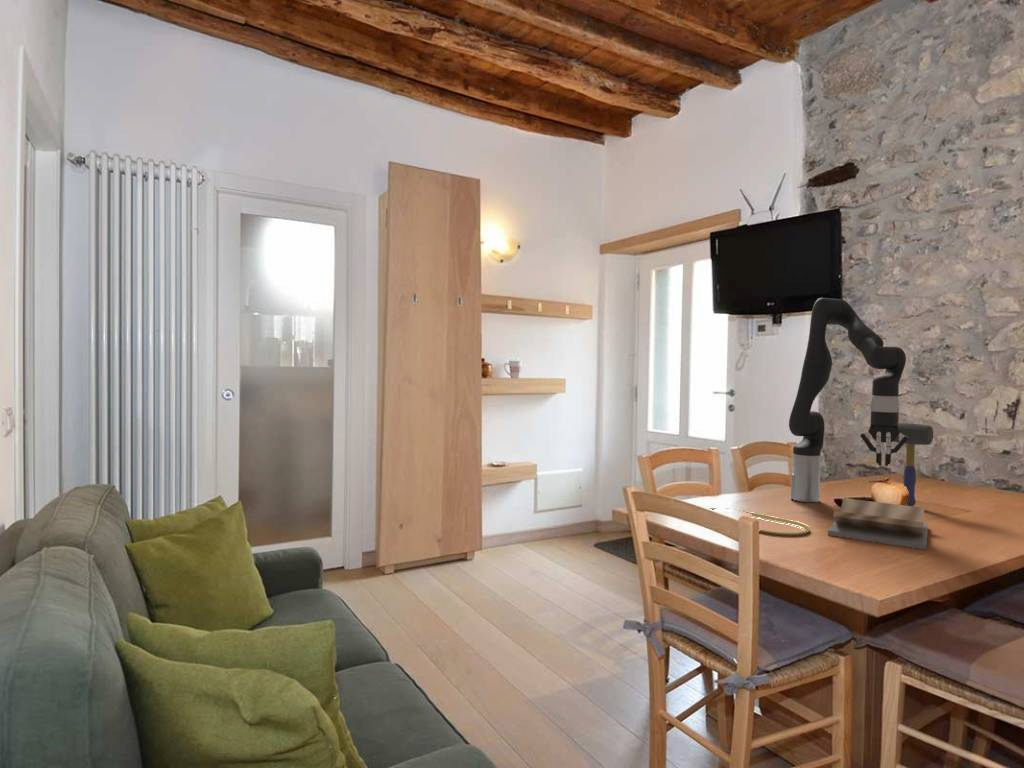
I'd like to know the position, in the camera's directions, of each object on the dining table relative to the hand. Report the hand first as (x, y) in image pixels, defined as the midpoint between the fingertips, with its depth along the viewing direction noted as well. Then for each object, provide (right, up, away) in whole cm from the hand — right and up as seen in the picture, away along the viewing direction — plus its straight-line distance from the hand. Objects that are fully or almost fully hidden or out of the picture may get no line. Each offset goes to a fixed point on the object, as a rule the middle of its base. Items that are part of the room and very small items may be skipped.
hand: (883, 465), depth 191 cm
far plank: (-1, -15, -1) cm, 15 cm away
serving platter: (-41, -19, +2) cm, 45 cm away
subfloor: (-6, -19, -7) cm, 21 cm away
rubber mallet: (+26, -19, +28) cm, 43 cm away
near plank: (-10, -16, -14) cm, 23 cm away
